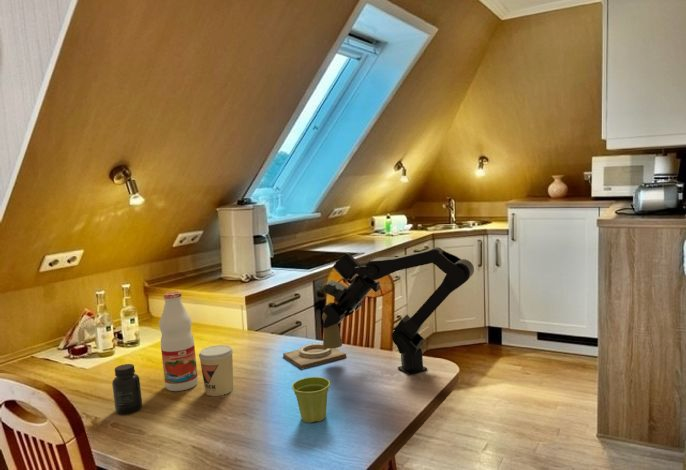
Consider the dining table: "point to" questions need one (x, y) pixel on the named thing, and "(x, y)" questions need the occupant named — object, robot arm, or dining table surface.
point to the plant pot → (312, 397)
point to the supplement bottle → (126, 390)
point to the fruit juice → (177, 345)
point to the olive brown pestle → (331, 335)
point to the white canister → (217, 369)
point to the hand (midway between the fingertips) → (327, 324)
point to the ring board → (313, 355)
